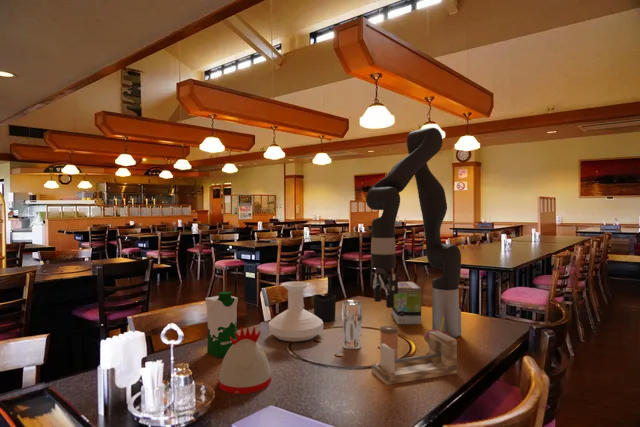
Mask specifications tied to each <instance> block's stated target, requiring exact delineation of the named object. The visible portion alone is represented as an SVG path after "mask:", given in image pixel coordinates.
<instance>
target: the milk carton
mask: <svg viewBox="0 0 640 427" xmlns="http://www.w3.org/2000/svg"><path fill="white" fill-rule="evenodd" d="M204 299H205V305H206V315H207V316H206V319H207V320H206V323H207V324H206V325H207V328H206V329H207V343H206V344H207V348H206V350H207V351H206V352H207V354H209V355H211V356H213V357H216V358H217V359H220V358H224V357H225V355H226V353H227V351H228V350H229V348H230V347H231V346H232V345H233V343H232V341H231V339H230V336H231V338H232V339H233V340H236V339H237V337H236V334H235V332H237V333H238V331H237V330H238V328H237V322H238V321H237V307H238V301H239V298H238V297H236V296H232V291H231V290H230V291H228V290H225V291H219V292H218V295H215V296H211V297H209V296H208V297H205V298H204Z"/></svg>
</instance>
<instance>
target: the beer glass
mask: <svg viewBox="0 0 640 427" xmlns="http://www.w3.org/2000/svg"><path fill="white" fill-rule="evenodd" d="M362 305H363V304H362V301H360V300H356V299H347V300H343V301H342V302H341V322H342V329H343V343H342V347H343V348H344V349H347V350H358V349H361V348H362V343H361V329H362V322H363V306H362Z"/></svg>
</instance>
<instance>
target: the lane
mask: <svg viewBox="0 0 640 427" xmlns="http://www.w3.org/2000/svg"><path fill="white" fill-rule="evenodd" d="M457 341H458V340H457V339H456V338H452V337H450V336H448V335H446V334H444V333H442V332H439V331H431V332H429V345H428V348H429V349H428V350H429V353H428V355H430V354H437V353H441V357H435V358H428V359H421V360H414V361H408V362H401V363H395V373H393V374H387V373H386V372H384V371H383V370H382V369H381V368H380V362H378V363H372V364H371V373H372V374H373V375H375V376H376V377H377V378H378V379H379V380H380V381H382V382H383V383H384V384H385V386H388V385H394V384H395V385H396V384H400V383H406V382H413V381H419V380H424V379H431V378H438V377H442V376H450V375H451V376H452V375H455V374H457V373H458V351H457V350H458V346H457V345H458V342H457Z"/></svg>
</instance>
